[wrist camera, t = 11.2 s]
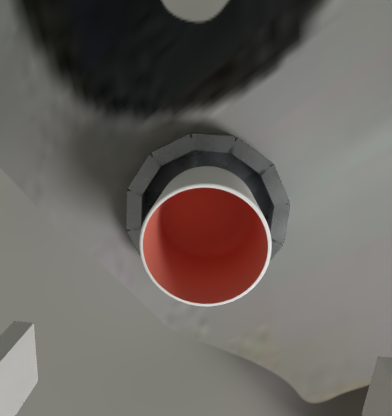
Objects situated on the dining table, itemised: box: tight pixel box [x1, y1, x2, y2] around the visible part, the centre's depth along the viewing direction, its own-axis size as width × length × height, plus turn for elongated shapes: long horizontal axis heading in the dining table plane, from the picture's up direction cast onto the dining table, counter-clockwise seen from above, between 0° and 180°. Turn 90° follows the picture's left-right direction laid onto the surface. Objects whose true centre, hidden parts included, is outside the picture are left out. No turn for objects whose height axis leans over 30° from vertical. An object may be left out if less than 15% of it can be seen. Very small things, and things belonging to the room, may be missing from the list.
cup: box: [139, 166, 272, 306], centre depth 29 cm, size 10×10×10 cm
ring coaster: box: [126, 133, 290, 262], centre depth 33 cm, size 16×16×3 cm
